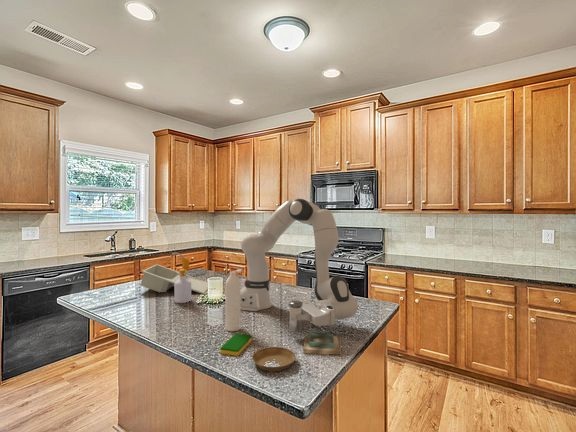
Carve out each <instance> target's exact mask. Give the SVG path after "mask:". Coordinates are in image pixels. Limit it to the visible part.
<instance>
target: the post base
mask: <svg viewBox="0 0 576 432" xmlns="http://www.w3.org/2000/svg"><path fill="white" fill-rule="evenodd" d="M302 351H303V353H302V354H311V353H313V354H315V353H317V354H315V355H329V354H340V352H341V351H340V343H339V336H338V335H334V334H333V333H313V332H312V333H311V332H310V333H309V334H305V335H304V342H303V350H302Z"/></svg>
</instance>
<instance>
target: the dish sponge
mask: <svg viewBox="0 0 576 432" xmlns="http://www.w3.org/2000/svg"><path fill="white" fill-rule="evenodd" d="M252 341H253V335H249V334H244V333H243V334H242V333H234V334H233V335H232V337H230V338H229V339H228V340H227V341H226V342H225V343H223V345H221V346H220V348H219V349H220V350H219V353H220V354H222V355H229V356H239V355H241V353H242V352H243V351H244V350H245V349H246V348H247V347H248V345H249V344H250V343H251V342H252Z"/></svg>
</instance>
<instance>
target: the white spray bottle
mask: <svg viewBox="0 0 576 432" xmlns="http://www.w3.org/2000/svg"><path fill="white" fill-rule="evenodd" d="M242 272H243V269H240V268H239V269H236V270H235V271H234V270H233V271H230V273H229V274H230V275H229V276H228V278H227V279H226V281H225V285H224V286H225V306H224V307H225V320H224V321H225V324H224V325H225V327H224V328H225V330H226V331H228V332H235V331H239V330H240V329H241V309H240V308H241V306H240V304H241V301H240V290H241V280H240V279H239V277H238V276H237V273H239V274H240V273H242Z"/></svg>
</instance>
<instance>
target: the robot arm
mask: <svg viewBox="0 0 576 432" xmlns="http://www.w3.org/2000/svg"><path fill="white" fill-rule="evenodd" d="M296 221H298V222H300V224H301V223H302V224H306V225H308V226H312V229H313V235H314V267H315V286H314V295H315V298H316V297H317V299H318V301H317V302H316V301H315V303H313V302H311V301H306V300H305V301H301V302H302V303H303V304H302V315H301V314H299V315H296V319H298V320H301V321H308V322H310V323H311V324H313V325H314V326H316V327H325V326H335V321H336V320H344V319H348V318H351V317H353V316H355V315H356V314H357V312H358V309H359V304H358V301H357V299H356V298H355V297H354V296H353V295H352V293H351V291H350V289H349V283H348V282H347V280H346V278H344V277H342V276H340V275H335V276H331V277H330V272H329V270H330V269H329V268H330V267H329V262H330V261H329V259H330V257H331V255H332V254H333V252H335V250H336V249H337V247H338V244H339V232H338V228H337V224H336V220H335V218H334V215H333V213H332V211H331V210H329V209H327V208H325V209H324V208H323V209H322V208H321V207H320V206H319V205H317V204H315V203H314V202H311V201H308V200H306V199H303V198H296V199H293V200H292V199H289V200H286V201H285V202H283V203H282V204H281V205H280V206H278V208H277V209H275V211H273V212H272V214H270V216H269V217H268V218H267V219H266V220H265V221H264V225H263V226H262V228H261V229H260V231H259V232H257V233H254V234H249V235H247V236H246V237H245V238H243V239H242V241H241V243H240V244H241V245H240V247H241V251H242V252H243V253H244V254H245V258H246V262H247V271H248V272H247V273H248V277H247V278H245V280H244V283H243V284H244V286H243V287H242V288H240V301H241V304H240V306H241V308H240V310H242V311H243V310H244V311H251V312H257V311H261V310H265V309H269V308H271V307H272V306H273V305H272V301H271V295H270V287H271V282H270V265H269V263H268V261H267V258H266V253H268V252H269V251H271V250H272V249H273V248H274V247H275V244H276V243H277V242H278V240H279V238H281V236H282V235H283V234H284V233H285V232H286V231H287V230H288V229H289V228H290V227H291V225H292V224H293V223H294V222H296Z"/></svg>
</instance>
